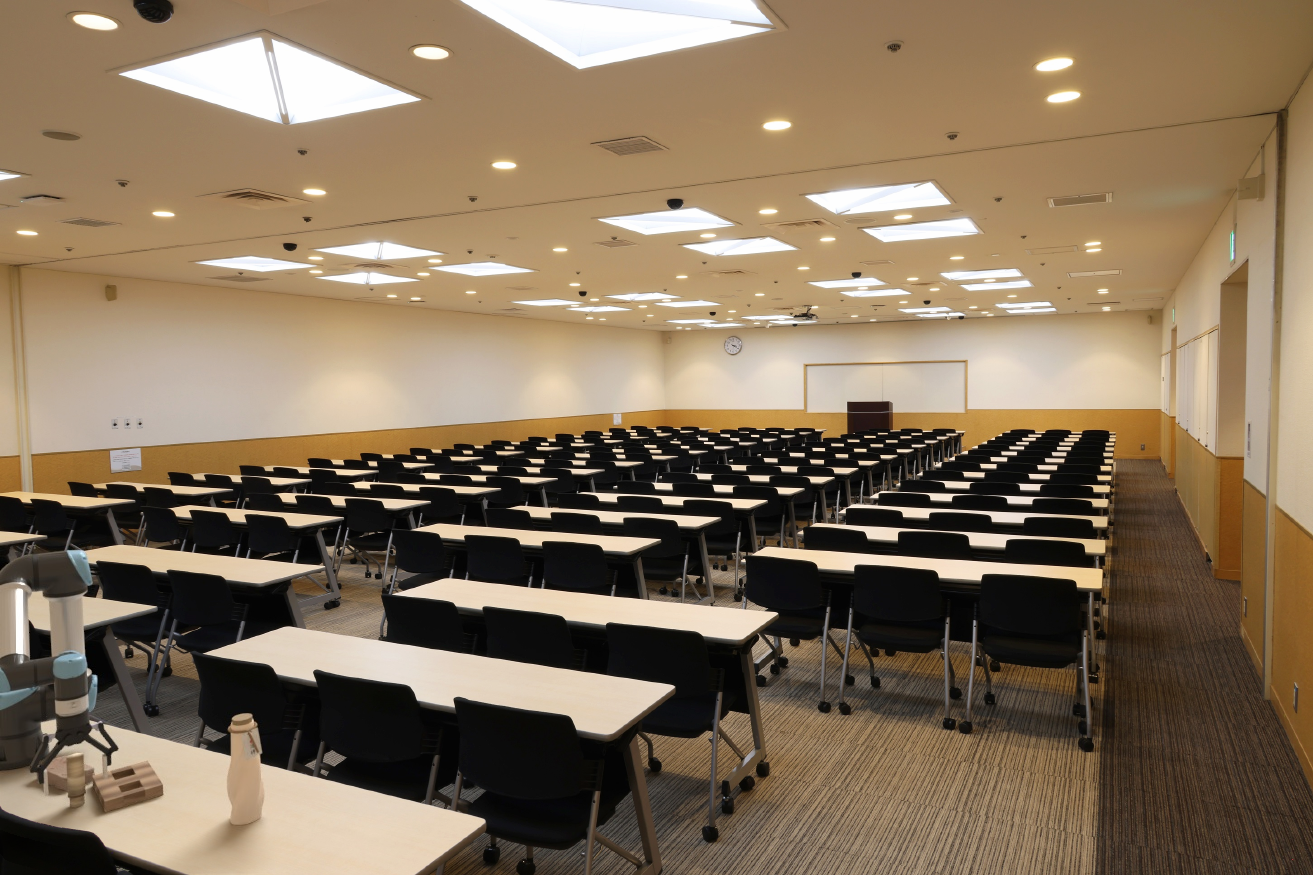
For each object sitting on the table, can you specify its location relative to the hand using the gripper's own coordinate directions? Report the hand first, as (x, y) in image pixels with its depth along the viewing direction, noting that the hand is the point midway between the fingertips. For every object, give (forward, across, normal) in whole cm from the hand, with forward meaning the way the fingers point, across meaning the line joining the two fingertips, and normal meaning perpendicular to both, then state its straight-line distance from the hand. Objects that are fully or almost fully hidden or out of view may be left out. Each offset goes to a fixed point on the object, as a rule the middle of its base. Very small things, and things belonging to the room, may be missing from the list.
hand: (76, 785), depth 228 cm
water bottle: (+6, +33, -40) cm, 52 cm away
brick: (+6, 0, +20) cm, 21 cm away
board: (+6, +12, 0) cm, 13 cm away
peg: (+6, 0, 0) cm, 6 cm away
